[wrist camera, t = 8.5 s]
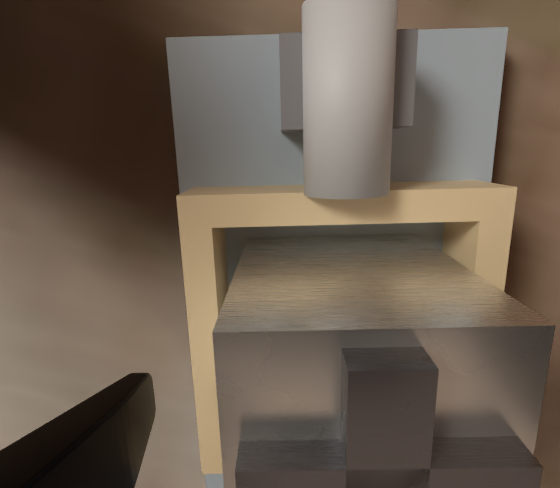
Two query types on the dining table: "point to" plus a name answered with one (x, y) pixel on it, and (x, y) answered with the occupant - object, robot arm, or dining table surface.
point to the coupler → (375, 369)
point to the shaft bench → (258, 154)
